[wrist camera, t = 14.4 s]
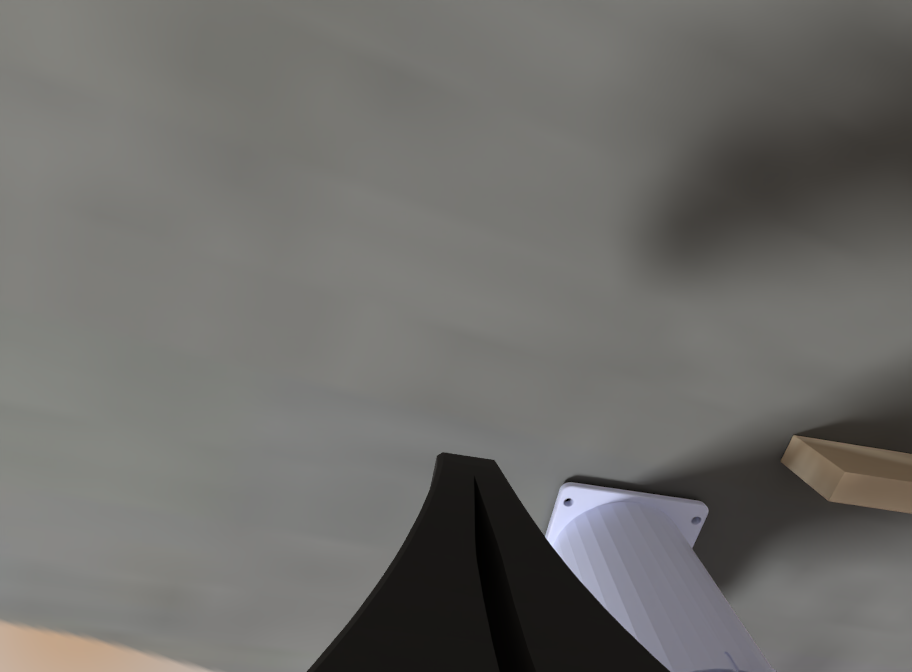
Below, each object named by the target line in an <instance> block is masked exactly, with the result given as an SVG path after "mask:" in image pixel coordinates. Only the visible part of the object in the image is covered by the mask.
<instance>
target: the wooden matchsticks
mask: <svg viewBox="0 0 912 672" xmlns="http://www.w3.org/2000/svg"><path fill="white" fill-rule="evenodd" d="M780 462H782V463H783V464H784V465H785V466H786V467H788V468H789V469H790V470H791V471H793V472H794V473H795V474H796V475H797V476H799V477H800V478H801V479H802V480H803V481H805V482H806V483H807V484H808V485H809V486H811V487H812V488H813V489H814V490H816V491H817V492H818V493H819V494H820V495H822V496H823V497H824V498H825V499H826V500H828V501H831V502H837V503H844V504H851V505H858V506H864V507H871V508H878V509H884V510H891V511H898V512H905V513H911V514H912V454H909V453H903V452H897V451H890V450H884V449H878V448H872V447H865V446H859V445H853V444H847V443H840V442H834V441H828V440H822V439H816V438H809V437H803V436H797V435H793V437H792V439H791V441H790V443H789V445H788V447H787V449H786V451H785V453H784V455H783V457H782V459H781V461H780Z"/></svg>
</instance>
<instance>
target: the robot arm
mask: <svg viewBox="0 0 912 672" xmlns="http://www.w3.org/2000/svg"><path fill="white" fill-rule="evenodd" d="M567 498H571V499H570V500H569V501H564V500H565V499H567ZM708 512H709V510H708V507H707V506H706V505H705V504H704V503H703V502H702V501H698V500H691V499H684V498H677V497H670V496H663V495H656V494H649V493H643V492H636V491H629V490H622V489H615V488H608V487H601V486H595V485H588V484H581V483H574V482H567V483H565V484H563V485H562V486H561V488H560V490H559V494H558V497H557V500H556V503H555V506H554V510H553V513H552V516H551V519H550V522H549V525H548V529H547V532H546V535H545V536H544V535H543V533H542V532H541V531H540V529H539V528H538V526H537V525H536V523H535V522H534V521H533V519H532V518H531V516H530V515H529V513H528V512H527V510H526V509H525V507H524V506H523V504H522V503H521V501H520V500H519V498H518V497H517V495H516V494H515V492H514V490H513V489H512V487H511V486H510V484H509V482H508V481H507V479H506V478H505V476H504V474H503V473H502V471H501V470H500V468H499V467H498V465H497V463H496V462H495V461H494V460H490V459H484V458H477V457H470V456H464V455H457V454H450V453H444V452H443V453H441V454H439V455H438V456H437V458H436V463H435V468H434V473H433V477H432V482H431V487H430V490H429V493H428V495H427V497H426V500H425V502H424V504H423V507H422V509H421V511H420V513H419V515H418V517H417V519H416V521H415V523H414V525H413V527H412V528H411V530H410V532H409V534H408V536H407V538H406V540H405V541H404V543H403V545H402V547H401V548H400V550H399V552H398V553H397V555H396V556H395V558H394V560H393V561H392V563H391V564H390V566H389V567H388V569H387V570H386V572H385V573H384V575H383V576H382V578H381V579H380V581H379V582H378V584H377V585H376V586H375V588H374V589H373V591H372V592H371V593H370V595H369V596H368V597H367V599H366V600H365V602H364V603H363V604H362V606H361V607H360V608H359V610H358V611H357V612H356V614H355V615H354V616H353V617H352V619H351V620H350V621H349V623H348V624H347V625H346V626H345V627H344V629H343V630H342V631H341V632H340V633H339V634H338V636H337V637H336V638H335V639H334V640H333V642H332V643H331V644H330V645H329V646H328V647H327V649H326V650H325V651H324V652H323V653H322V655H321V656H320V657H319V658H318V659H317V660H316V662H315V663H314V664H313V665H312V666H311V667H310V669H309V670H308V671H307V672H777V671H776V670H775V669H773V668H772V666H771V665H770V663H769V662H768V660H767V659H766V657H765V656H764V655H763V653H762V652H761V650H760V649H759V647H758V646H757V644H756V643H755V641H754V640H753V638H752V637H751V635H750V634H749V632H748V631H747V629H746V628H745V626H744V625H743V623H742V622H741V620H740V619H739V617H738V616H737V614H736V613H735V611H734V610H733V609H732V607H731V606H730V604H729V603H728V601H727V600H726V598H725V597H724V595H723V594H722V592H721V591H720V589H719V588H718V586H717V585H716V583H715V582H714V580H713V579H712V577H711V576H710V574H709V573H708V571H707V570H706V568H705V567H704V565H703V564H702V563H701V561H700V560H699V558H698V557H697V555H696V554H695V552H694V551H693V549H692V548H693V546H694V543H695V541H696V539H697V537H698V535H699V532H700V530H701V528H702V526H703V524H704V522H705V519H706V517H707V515H708ZM694 517H696V518H694ZM693 518H694V519H693Z"/></svg>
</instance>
